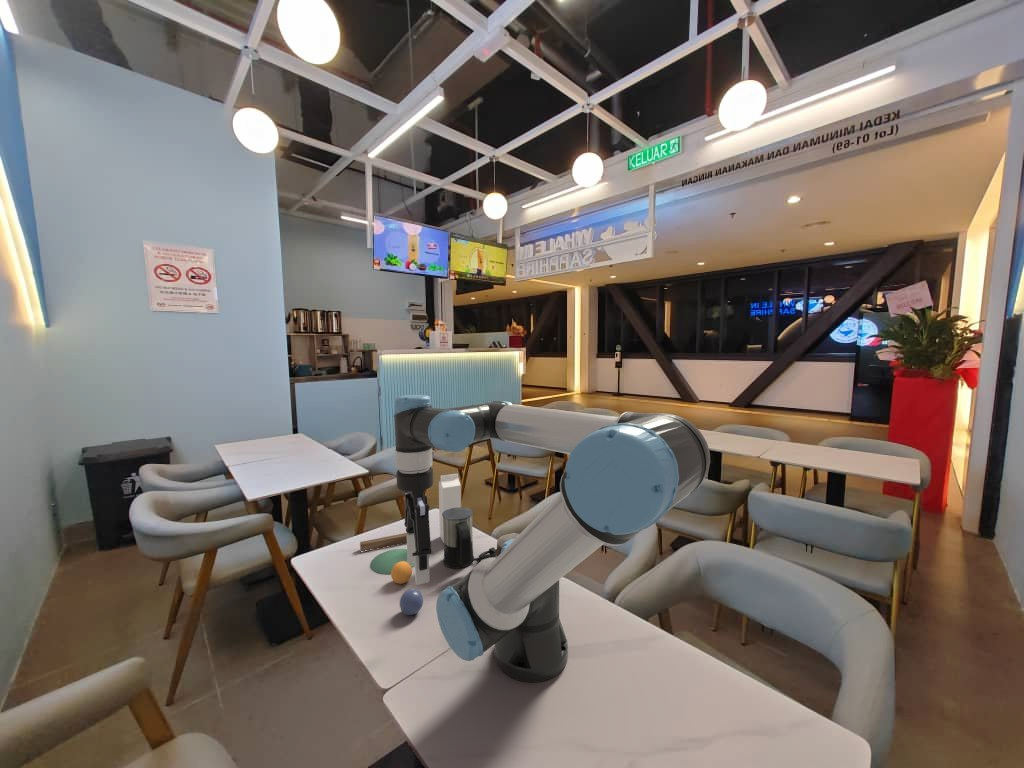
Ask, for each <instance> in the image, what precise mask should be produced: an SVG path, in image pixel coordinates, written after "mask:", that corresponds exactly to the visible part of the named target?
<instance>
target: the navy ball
mask: <svg viewBox="0 0 1024 768" xmlns="http://www.w3.org/2000/svg"><path fill="white" fill-rule="evenodd" d="M423 604H424V598H423V594H422V593H421V591H420V590H418V589H415V588H410V589H407V590H406V591H404V592H403V593H402V595H401V596H400V598H399V608H400V610H401V613H403V614H405V615H408V616H413V615H415V614H417V613H419V612H420V610H422V607H423Z"/></svg>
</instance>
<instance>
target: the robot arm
mask: <svg viewBox="0 0 1024 768" xmlns="http://www.w3.org/2000/svg"><path fill="white" fill-rule="evenodd" d="M393 423H394V438H395V440H394V441H395V450H394V452H395V453H394V454H395V456H394V457H395V469H396V470H397V471H396V488H397V489H398V490H399V491H402V492H404V527H405V533H409V534H407V543H406V549H407V561H408V564H409V563H414V562H415V566H414V579H415V580H414V582H415V586H419V585H422V584H426V583H429V582H430V555H431V554H432V545H431V543H432V541H431V531H430V530H431V529H430V528H431V527H430V516H429V515H430V510H429V509H430V505H429V503H428V498H427V495H425V491H426V490H427V489H430V488H431V487H433V485H434V468H433V467H432V466H433V464H434V462H433V460H434V459H433V456H435V454H436V451H435V450H433V448H435V449H437V450H439V451H444V452H452V453H461V452H463V451H465V450H466V449H467V448H468V447H469V446H470V445H471V444H472V443H476V442H481V441H485V440H489V439H492V440H498V441H501V442H508V443H514V444H519V445H524V446H528V447H531V448H533V447H534V448H537V449H542V450H547V451H551V452H558V453H562V454H565V455H569V456H568V459H567V461H566V464H565V469H564V470H565V471H564V472H563V473H562V476H561V478H560V480H559V481H560V482H559V490H560V491H559V494H558V495H557V496H556V497H555V498H554V499H552V501H551V502H550V503H549V504H547V506H546V507H545V508H544V509H543V510H541V512H540V513H539V514H538V515H537V516H536V517H535V518H534V519H533V520H532V521H531V522H530V523H529V524H528V525H527V526H526V527H525V528H524V529H523V530H522V531H521V532H520V533H518V534H519V535H518V536H517V537H516V538H515V539H511V540H508V541H506V542H505V543H504V544H503V546H502V550H501V554H500V555H499V556H498V557H497V556H496V557H492V558H487V559H484V560H480V562H478V563H477V564H475V566H474V567H473V568H472V569H470V571H469V572H468V573H467V574H466V575H465V576H464V577H463V578H461V579H460V580H459V581H457V582H455V583H454V584H452V585H447V586H446V588H445V589H444V590H442V591H441V592H440V593H439V594H438V596H437V599H436V616H437V620H438V624H439V628H440V630H441V633H442V635H443V637H444V639H445V642H446V643H447V645H448V646H449V647H450V649H451V650H452V652H453V653H454V654H455V655H456V656H457V657H459V659H461V660H463V661H466V662H471V661H474V660H475V659H476V658H478V657H481V656H483V655H484V653H485V652H487V651H488V650H489V649H491V647H492V646H494V658H495V662H496V664H497V666H498V667H499V669H500V670H501V671H502V672H503V673H505V675H507V676H508V677H510V678H512V679H515V680H518V681H520V682H525V683H540V682H544V681H548V680H550V679H552V678H554V677H556V676H558V675H560V673H561V672H562V671H563V669H564V668H565V667H566V665H567V662H568V657H569V651H568V650H569V648H568V647H569V646H568V639H567V636H566V634H565V630H564V627H563V625H562V622H561V618H560V580H561V579H563V577H564V576H566V575H567V574H569V572H572V570H573V569H574V568H576V567H577V566H578V565H580V564H581V563H582V562H583V561H584V560H585V559H587V558H588V557H590V556H591V555H592V554H593V553H594V552H595V551H596V550H598V549H600V547H601V546H603V545H608V546H611V547H612V546H613V547H618V546H622V545H625V544H626V543H628V542H629V541H630V540H632V539H633V538H634V537H635V536H637V535H638V534H640V533H641V532H642V531H644V530H646V529H648V528H649V527H651V526H653V525H654V524H656V523H657V522H658V521H659V520H661V518H663V516H665V514H667V512H668V511H669V510H671V509H672V508H674V507H675V506H677V504H679V503H680V502H681V501H683V500H684V499H686V497H688V496H689V495H691V494H692V493H694V492H695V491H697V490H698V489H699V488H700V486H701V485H702V484H703V483H704V481H705V480H706V477H707V476H708V474H709V469H710V465H711V453H710V447H709V444H708V442H707V440H706V438H705V437H704V435H703V434H702V432H701V431H700V430H699V429H698V428H697V426H696V425H694V424H693V423H692V422H691V421H690V420H688V419H686V418H683V417H682V416H679V415H677V414H672V413H668V412H667V413H663V412H659V413H656V412H655V413H650V412H634V411H624V412H623V413H621V414H620V415H619V416H613V415H612V416H611V415H603V414H595V413H587V412H577V411H568V410H567V411H566V410H559V409H552V408H551V409H550V408H542V407H533V406H532V407H531V406H525V405H523V406H522V405H514V404H513V403H512V402H511V401H507V400H495V401H491V402H486V403H480V404H479V403H478V404H471V405H464V406H455V407H448V408H437V407H433V404H432V398H431V397H430V396H429V395H427V394H405V395H399V396H398V397H396V398H395V399H394V413H393Z"/></svg>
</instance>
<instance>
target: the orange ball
mask: <svg viewBox="0 0 1024 768" xmlns="http://www.w3.org/2000/svg"><path fill="white" fill-rule="evenodd" d="M412 573H413V567H412V568H411V566H410V564H408V563H407V562H404V561H401V562H398V563H396V564H395V565H394V566H393V568H392V571H391V574H390V576H391V579H392V581H393V582H395V584H399V585H402V584H405V583H407V582H408V581H409V580H410V579H411V577H412Z"/></svg>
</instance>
